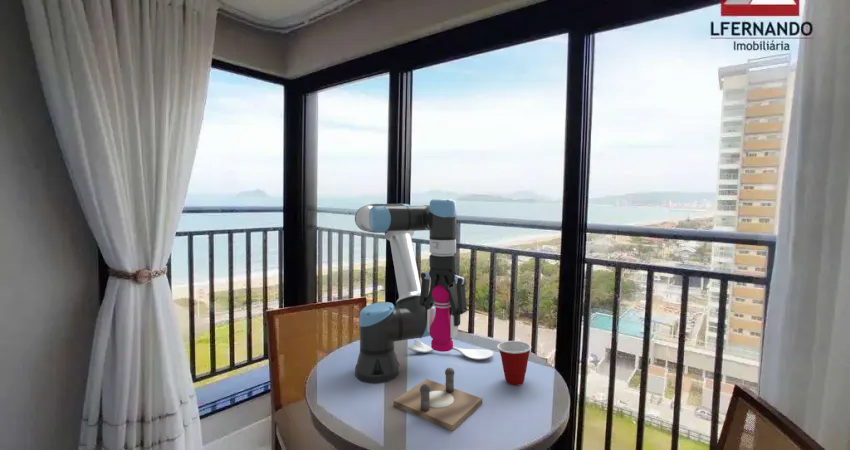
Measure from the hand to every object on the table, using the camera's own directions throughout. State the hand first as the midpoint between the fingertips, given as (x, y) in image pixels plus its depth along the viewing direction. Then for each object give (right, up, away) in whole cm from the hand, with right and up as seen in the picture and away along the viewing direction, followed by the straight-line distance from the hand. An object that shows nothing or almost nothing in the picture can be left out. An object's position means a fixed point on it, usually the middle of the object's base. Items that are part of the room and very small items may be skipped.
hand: (442, 333), depth 103 cm
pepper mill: (0, -4, 0) cm, 4 cm away
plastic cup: (+24, -20, +14) cm, 34 cm away
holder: (-1, -21, +1) cm, 21 cm away
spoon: (+5, -19, +36) cm, 41 cm away
